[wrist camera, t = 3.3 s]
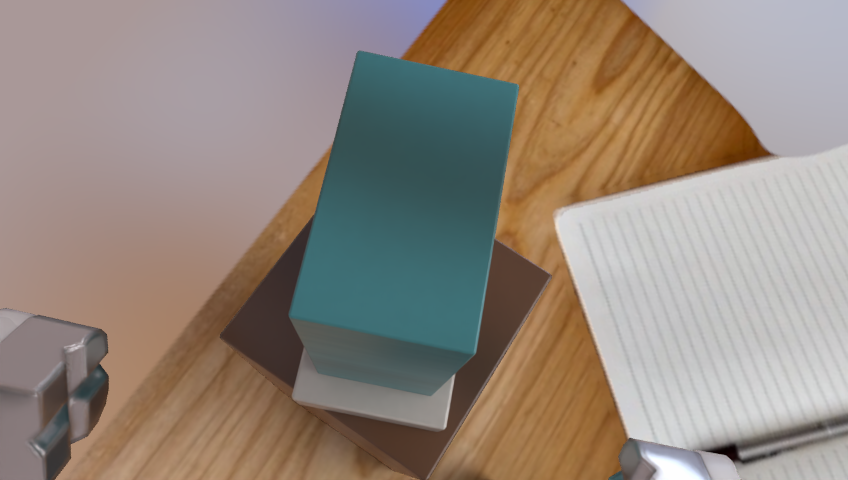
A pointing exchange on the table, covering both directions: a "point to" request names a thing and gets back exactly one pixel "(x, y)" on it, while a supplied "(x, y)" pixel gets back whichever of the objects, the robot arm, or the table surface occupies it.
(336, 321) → the eraser
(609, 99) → the table surface
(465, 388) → the stand
